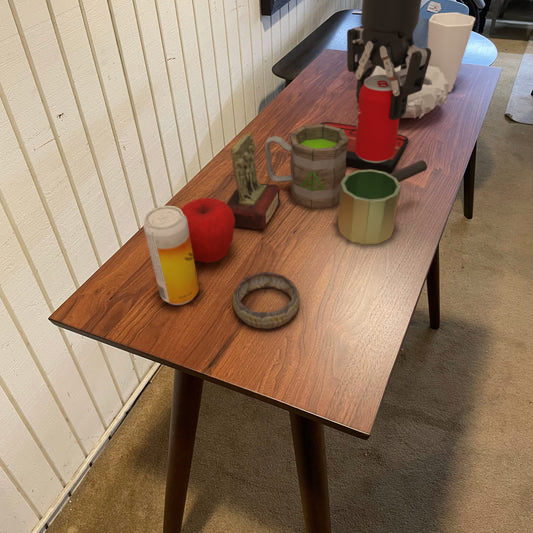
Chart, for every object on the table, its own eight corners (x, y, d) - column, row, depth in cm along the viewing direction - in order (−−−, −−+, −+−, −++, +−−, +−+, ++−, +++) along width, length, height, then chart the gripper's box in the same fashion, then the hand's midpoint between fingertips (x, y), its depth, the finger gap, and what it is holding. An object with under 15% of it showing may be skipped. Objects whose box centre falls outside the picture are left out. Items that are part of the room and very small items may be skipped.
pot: (397, 191, 100) (403, 149, 94) (435, 214, 94) (445, 171, 88) (327, 224, 93) (329, 181, 87) (364, 251, 87) (369, 207, 81)
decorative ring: (223, 324, 76) (289, 338, 73) (221, 309, 73) (289, 323, 71) (246, 279, 83) (306, 290, 80) (245, 264, 81) (306, 275, 78)
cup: (454, 99, 130) (470, 28, 119) (414, 93, 134) (426, 23, 122) (462, 82, 138) (477, 14, 126) (424, 77, 141) (435, 10, 130)
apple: (229, 232, 92) (223, 180, 85) (245, 265, 85) (241, 211, 78) (175, 246, 90) (164, 194, 82) (188, 280, 83) (178, 227, 76)
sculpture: (265, 233, 91) (262, 159, 81) (223, 226, 93) (215, 153, 84) (281, 203, 98) (279, 131, 88) (241, 197, 100) (236, 126, 90)
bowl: (368, 91, 136) (372, 52, 129) (448, 100, 130) (456, 60, 123) (348, 125, 121) (351, 84, 115) (437, 138, 115) (445, 95, 109)
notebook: (393, 165, 103) (296, 147, 110) (391, 175, 104) (295, 156, 111) (411, 133, 114) (322, 118, 121) (409, 143, 115) (321, 128, 122)
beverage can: (389, 145, 84) (399, 72, 76) (397, 164, 80) (409, 89, 72) (351, 147, 84) (357, 74, 76) (357, 166, 80) (364, 91, 72)
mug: (348, 181, 103) (353, 126, 95) (339, 212, 95) (344, 155, 87) (273, 173, 107) (271, 119, 99) (259, 202, 99) (255, 145, 91)
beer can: (207, 291, 81) (195, 214, 71) (178, 313, 78) (161, 235, 68) (181, 275, 84) (166, 198, 74) (152, 295, 81) (132, 218, 71)
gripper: (457, -8, 63) (433, 120, 74) (375, -28, 72) (364, 89, 83) (414, 3, 60) (396, 135, 71) (334, -19, 69) (328, 101, 80)
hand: (379, 109), depth 77 cm, fingers closed on beverage can, 6 cm apart
